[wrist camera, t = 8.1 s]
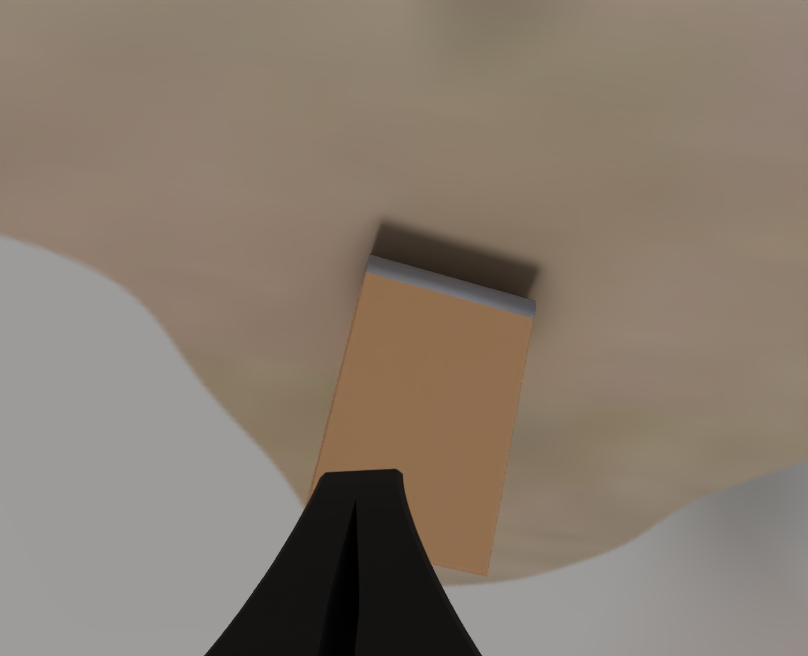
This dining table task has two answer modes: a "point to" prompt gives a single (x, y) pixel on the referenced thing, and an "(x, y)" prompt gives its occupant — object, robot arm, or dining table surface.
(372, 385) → the latch flap
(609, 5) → the dining table surface
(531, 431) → the dining table surface
